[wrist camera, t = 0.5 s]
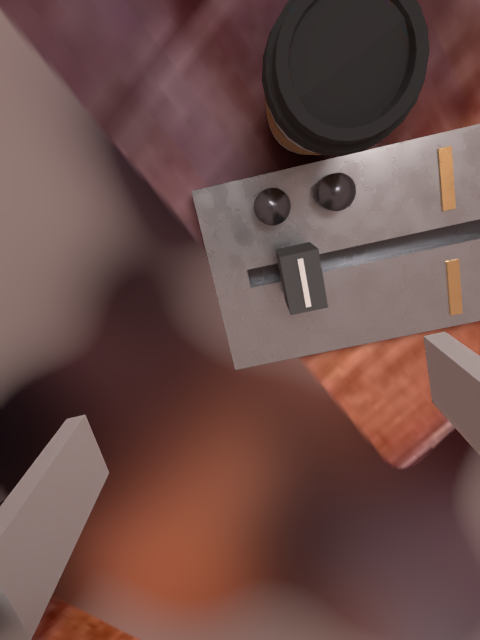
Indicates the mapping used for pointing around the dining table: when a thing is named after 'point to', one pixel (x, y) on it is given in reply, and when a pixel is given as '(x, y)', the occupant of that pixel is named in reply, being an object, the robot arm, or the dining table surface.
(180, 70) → the dining table surface
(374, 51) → the coffee cup
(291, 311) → the fader
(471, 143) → the console
